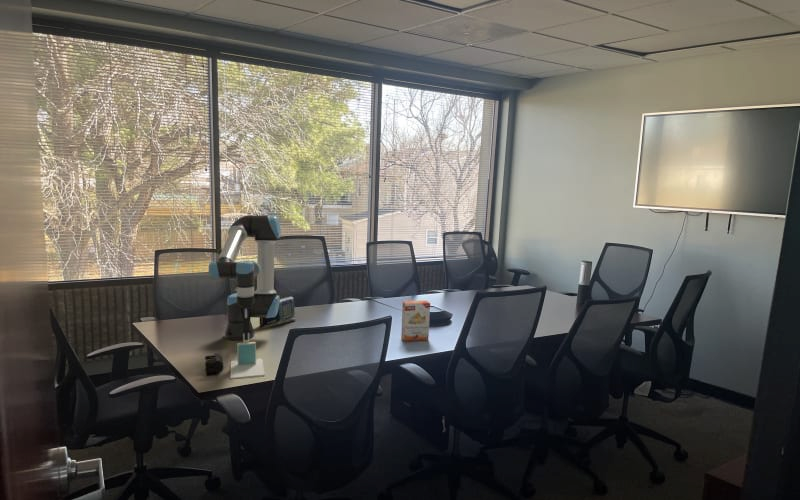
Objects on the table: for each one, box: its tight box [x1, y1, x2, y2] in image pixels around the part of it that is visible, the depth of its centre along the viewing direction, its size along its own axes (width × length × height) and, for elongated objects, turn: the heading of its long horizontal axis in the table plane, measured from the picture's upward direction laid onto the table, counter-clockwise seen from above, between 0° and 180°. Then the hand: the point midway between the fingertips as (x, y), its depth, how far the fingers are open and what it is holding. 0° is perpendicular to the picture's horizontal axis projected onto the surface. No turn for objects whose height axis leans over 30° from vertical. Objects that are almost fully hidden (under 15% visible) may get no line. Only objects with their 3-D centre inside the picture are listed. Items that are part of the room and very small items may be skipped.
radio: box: [258, 295, 296, 329], centre depth 293 cm, size 23×9×15 cm, turn 130°
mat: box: [229, 357, 265, 380], centre depth 226 cm, size 20×14×1 cm
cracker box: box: [400, 300, 431, 342], centre depth 271 cm, size 14×6×21 cm, turn 105°
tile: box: [236, 341, 257, 366], centre depth 229 cm, size 2×8×10 cm, turn 108°
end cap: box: [204, 352, 224, 377], centre depth 222 cm, size 10×7×7 cm
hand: (246, 346), depth 230 cm, fingers closed
